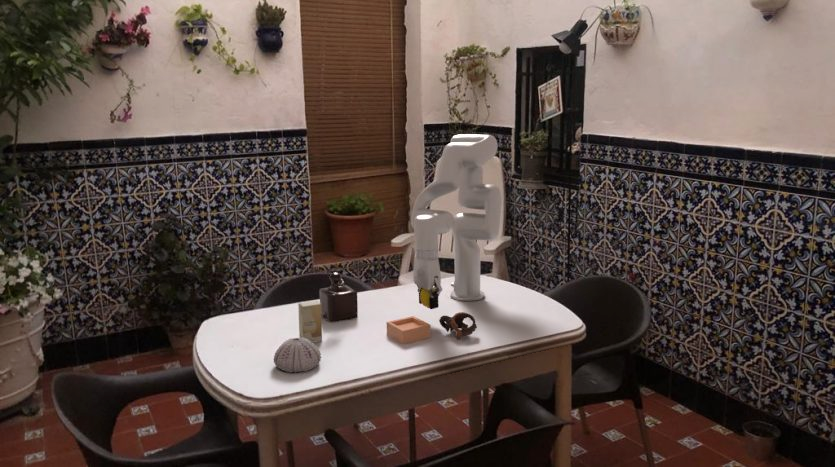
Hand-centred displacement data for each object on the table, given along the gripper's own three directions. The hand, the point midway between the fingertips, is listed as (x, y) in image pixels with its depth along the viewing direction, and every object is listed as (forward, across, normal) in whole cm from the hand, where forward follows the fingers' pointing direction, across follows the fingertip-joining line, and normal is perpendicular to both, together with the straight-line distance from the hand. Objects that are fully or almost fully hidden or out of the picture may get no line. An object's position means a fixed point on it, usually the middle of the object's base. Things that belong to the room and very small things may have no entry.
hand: (428, 304), depth 225 cm
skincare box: (+5, -7, -39) cm, 40 cm away
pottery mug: (+6, +15, +1) cm, 16 cm away
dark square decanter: (+6, -21, -22) cm, 31 cm away
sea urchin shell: (+4, +9, -50) cm, 51 cm away
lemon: (+1, 0, 0) cm, 1 cm away
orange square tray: (+5, +7, -12) cm, 15 cm away
